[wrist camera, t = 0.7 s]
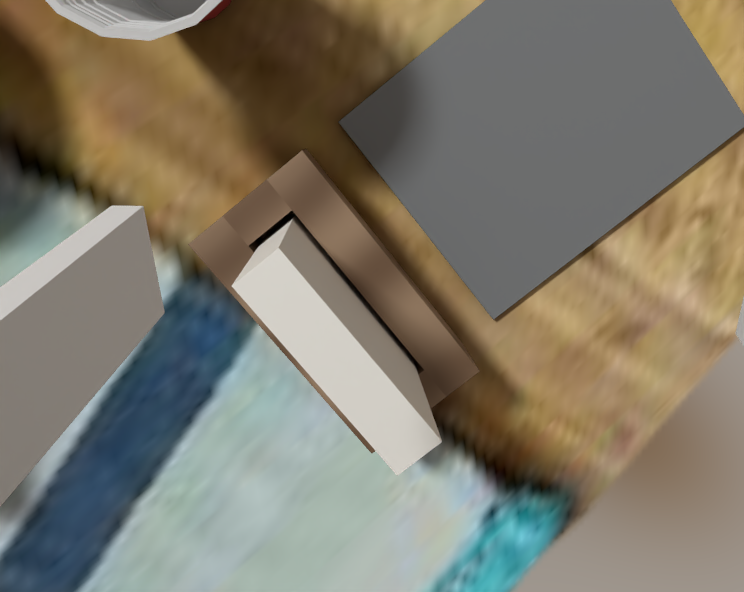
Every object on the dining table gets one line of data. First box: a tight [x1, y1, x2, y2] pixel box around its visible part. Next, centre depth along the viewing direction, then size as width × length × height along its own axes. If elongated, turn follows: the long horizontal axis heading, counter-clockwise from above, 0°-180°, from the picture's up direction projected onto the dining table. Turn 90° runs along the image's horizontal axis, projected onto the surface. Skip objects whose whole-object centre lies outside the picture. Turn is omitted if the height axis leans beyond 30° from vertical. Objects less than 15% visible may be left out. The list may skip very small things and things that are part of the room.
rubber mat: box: [339, 0, 744, 320], centre depth 44 cm, size 16×20×1 cm
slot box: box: [188, 149, 479, 453], centre depth 42 cm, size 16×8×6 cm, turn 38°
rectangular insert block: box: [232, 213, 442, 476], centre depth 37 cm, size 11×2×15 cm, turn 39°
